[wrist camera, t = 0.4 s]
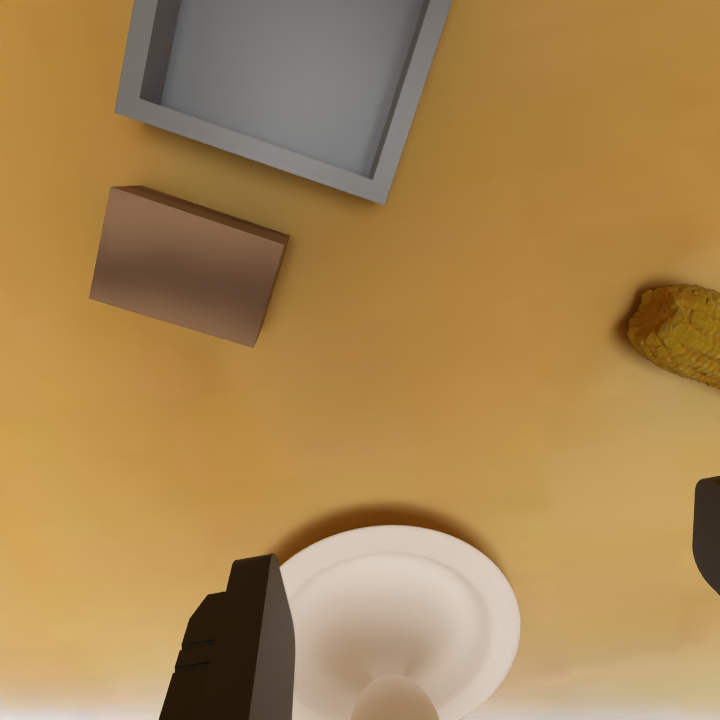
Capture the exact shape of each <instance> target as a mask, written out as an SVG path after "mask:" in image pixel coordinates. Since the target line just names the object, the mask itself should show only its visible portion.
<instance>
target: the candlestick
mask: <svg viewBox="0 0 720 720" xmlns="http://www.w3.org/2000/svg"><path fill="white" fill-rule="evenodd" d="M280 571H281V575H282V579H283V583H284V587H285V591H286V595H287V599H288V603H289V607H290V611H291V615H292V620H293V625H294V633H295V649H296V653H295V672H294V690H293V708H292V720H461V719H463V718H464V717H466V716H467V715H469V714H470V713H472V712H473V711H474V710H476V709H477V708H478V707H479V706H480V705H482V704H483V703H484V702H485V701H486V700H487V699H488V698H489V697H490V696H491V695H492V694H493V693H494V692H495V690H496V689H497V688H498V687H499V685H500V684H501V683H502V681H503V680H504V678H505V677H506V675H507V673H508V672H509V670H510V668H511V666H512V664H513V661H514V659H515V656H516V653H517V650H518V645H519V640H520V631H521V621H520V612H519V607H518V603H517V599H516V597H515V594H514V592H513V590H512V587H511V586H510V584H509V582H508V580H507V579H506V577H505V576H504V574H503V573H502V572H501V571H500V569H499V568H498V567H497V566H496V565H495V564H494V563H493V562H492V561H491V560H490V559H489V558H488V557H487V556H486V555H484V554H483V553H482V552H480V551H479V550H478V549H476V548H475V547H473V546H471V545H470V544H468V543H466V542H464V541H462V540H460V539H458V538H456V537H454V536H451V535H448V534H446V533H443V532H439V531H436V530H432V529H428V528H422V527H416V526H406V525H379V526H369V527H363V528H357V529H353V530H349V531H345V532H341V533H338V534H335V535H332V536H330V537H327V538H324V539H322V540H320V541H318V542H316V543H314V544H312V545H310V546H308V547H306V548H304V549H303V550H301V551H300V552H298V553H297V554H295V555H294V556H292V557H291V558H290V559H288V560H287V561H286V562H285V563H283V564H282V565H281V566H280Z"/></svg>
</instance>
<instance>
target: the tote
mask: <svg viewBox="0 0 720 720" xmlns="http://www.w3.org/2000/svg"><path fill="white" fill-rule="evenodd" d="M451 3H452V0H134V5H133V11H132V16H131V22H130V28H129V33H128V39H127V45H126V50H125V56H124V61H123V67H122V73H121V78H120V84H119V90H118V95H117V101H116V107H115V112H114V113H117V114H120V115H123V116H126V117H129V118H132V119H135V120H138V121H141V122H144V123H147V124H149V125H152V126H155V127H158V128H161V129H164V130H167V131H170V132H173V133H176V134H179V135H181V136H184V137H187V138H190V139H193V140H196V141H199V142H202V143H205V144H208V145H211V146H213V147H216V148H219V149H222V150H225V151H228V152H231V153H234V154H237V155H240V156H243V157H245V158H248V159H251V160H254V161H257V162H260V163H263V164H266V165H269V166H272V167H275V168H277V169H280V170H283V171H286V172H289V173H292V174H295V175H298V176H301V177H304V178H307V179H309V180H312V181H315V182H318V183H321V184H324V185H327V186H330V187H333V188H336V189H339V190H341V191H344V192H347V193H350V194H353V195H356V196H359V197H362V198H365V199H368V200H371V201H373V202H376V203H379V204H382V205H385V203H386V200H387V197H388V194H389V191H390V188H391V185H392V182H393V178H394V175H395V172H396V169H397V166H398V163H399V160H400V157H401V154H402V151H403V148H404V145H405V142H406V139H407V136H408V133H409V130H410V127H411V124H412V121H413V118H414V115H415V112H416V109H417V106H418V103H419V100H420V97H421V94H422V91H423V88H424V85H425V82H426V78H427V75H428V72H429V69H430V66H431V63H432V60H433V57H434V54H435V51H436V48H437V45H438V42H439V39H440V36H441V33H442V30H443V27H444V24H445V21H446V18H447V15H448V12H449V9H450V6H451Z"/></svg>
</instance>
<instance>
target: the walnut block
mask: <svg viewBox="0 0 720 720" xmlns="http://www.w3.org/2000/svg"><path fill="white" fill-rule="evenodd" d="M288 239H289V235H286V234H283V233H280V232H277V231H274V230H271V229H268V228H265V227H263V226H260V225H257V224H254V223H251V222H248V221H245V220H242V219H239V218H236V217H233V216H230V215H227V214H224V213H221V212H218V211H215V210H212V209H209V208H206V207H203V206H200V205H197V204H194V203H192V202H189V201H186V200H183V199H180V198H177V197H174V196H171V195H168V194H165V193H162V192H159V191H156V190H153V189H150V188H147V187H144V186H118V187H111V188H110V193H109V199H108V204H107V209H106V214H105V219H104V224H103V229H102V234H101V240H100V245H99V250H98V255H97V260H96V265H95V270H94V275H93V281H92V286H91V291H90V296H89V299H92V300H96V301H99V302H102V303H106V304H109V305H112V306H116V307H119V308H122V309H126V310H129V311H132V312H136V313H139V314H142V315H146V316H149V317H152V318H156V319H159V320H162V321H166V322H169V323H172V324H176V325H179V326H182V327H186V328H189V329H192V330H196V331H199V332H202V333H206V334H209V335H212V336H216V337H219V338H223V339H226V340H229V341H233V342H236V343H239V344H243V345H246V346H249V347H253V348H254V345H255V343H256V341H257V338H258V336H259V333H260V331H261V328H262V326H263V323H264V319H265V316H266V313H267V309H268V306H269V303H270V299H271V296H272V292H273V289H274V286H275V282H276V279H277V276H278V272H279V269H280V266H281V262H282V259H283V255H284V252H285V249H286V245H287V242H288Z"/></svg>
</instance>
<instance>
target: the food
mask: <svg viewBox="0 0 720 720" xmlns="http://www.w3.org/2000/svg"><path fill="white" fill-rule="evenodd" d="M627 336H628V337H629V339H630V341H631V342H632V344H633V346H634V347H635V348H636V349H637V350H638V351H639V352H640V353H641V354H642V355H643V356H644V357H646V358H647V359H648V360H650V361H651V362H653V363H654V364H656V365H657V366H659V367H661V368H663V369H664V370H667V371H670V372H672V373H674V374H678V375H680V376H681V377H688V378H690V379H694V380H697V381H698V382H704V383H705V384H707V385H708V386H713V387H716V388H719V389H720V293H719V292H716V291H715V290H711V289H706V288H703V287H700V286H698V285H693V286H691V285H686V284H680V285H677V286H672V285H669V286H665V287H664V288H663V287H657V288H656V289H655V290H654V291H653V290H648V291H647V292H645V293H644V294H643V295H642V303H641V304H639V308H638V311H637V312H635V314H634V316H633V318H630V322H629V331H628V333H627Z"/></svg>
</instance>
